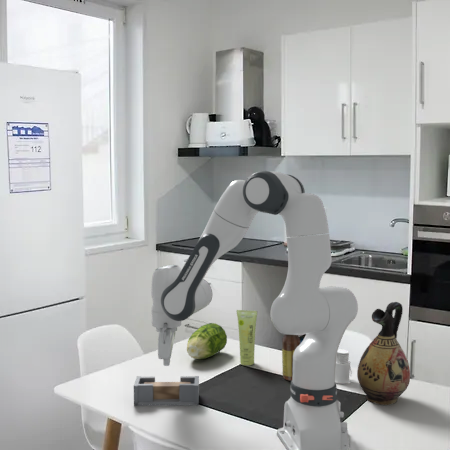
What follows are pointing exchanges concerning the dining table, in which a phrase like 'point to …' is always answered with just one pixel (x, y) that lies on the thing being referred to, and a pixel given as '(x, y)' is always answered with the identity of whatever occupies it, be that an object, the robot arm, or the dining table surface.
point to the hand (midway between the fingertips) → (166, 364)
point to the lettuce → (206, 341)
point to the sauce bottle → (289, 354)
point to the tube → (247, 335)
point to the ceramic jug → (384, 360)
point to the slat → (166, 389)
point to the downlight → (342, 367)
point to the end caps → (186, 397)
